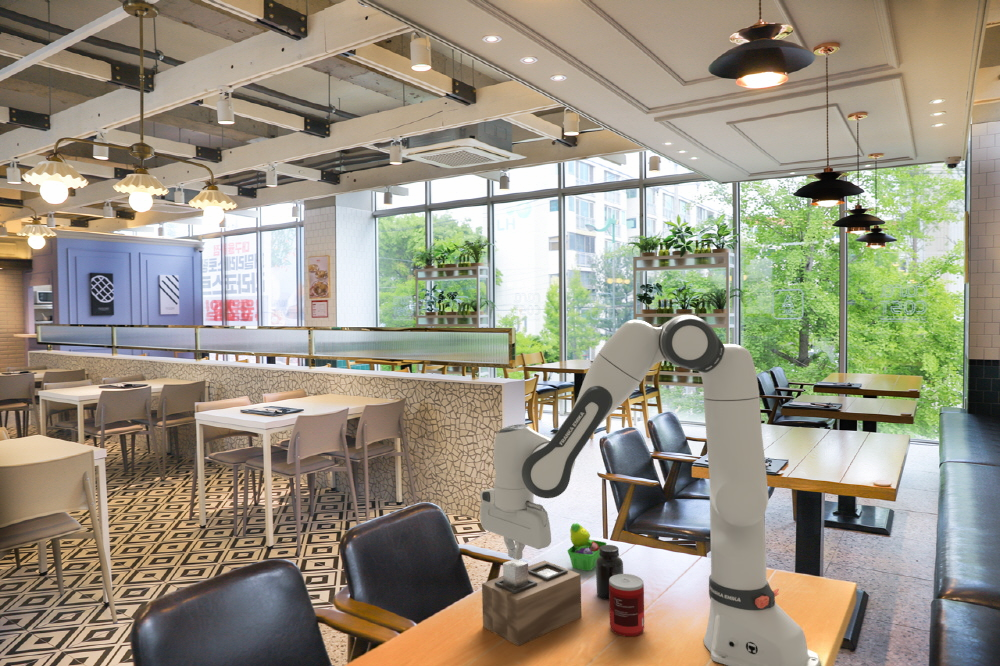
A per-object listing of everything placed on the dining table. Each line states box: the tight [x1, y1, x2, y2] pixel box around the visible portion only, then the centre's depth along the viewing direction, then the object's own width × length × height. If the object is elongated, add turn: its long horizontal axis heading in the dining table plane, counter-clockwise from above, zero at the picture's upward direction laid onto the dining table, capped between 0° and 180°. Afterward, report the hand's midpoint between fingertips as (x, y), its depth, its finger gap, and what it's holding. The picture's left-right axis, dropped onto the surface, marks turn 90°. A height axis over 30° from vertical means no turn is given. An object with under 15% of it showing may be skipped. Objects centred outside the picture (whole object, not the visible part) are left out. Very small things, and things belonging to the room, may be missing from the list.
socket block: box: [481, 560, 582, 647], centre depth 153 cm, size 12×20×11 cm, turn 131°
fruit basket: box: [567, 522, 608, 572], centre depth 187 cm, size 11×9×11 cm
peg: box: [502, 558, 529, 590], centre depth 149 cm, size 4×4×9 cm
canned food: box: [608, 573, 645, 638], centre depth 148 cm, size 8×8×11 cm
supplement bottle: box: [595, 544, 624, 601], centre depth 166 cm, size 7×7×12 cm
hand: (515, 557), depth 149 cm, fingers closed
